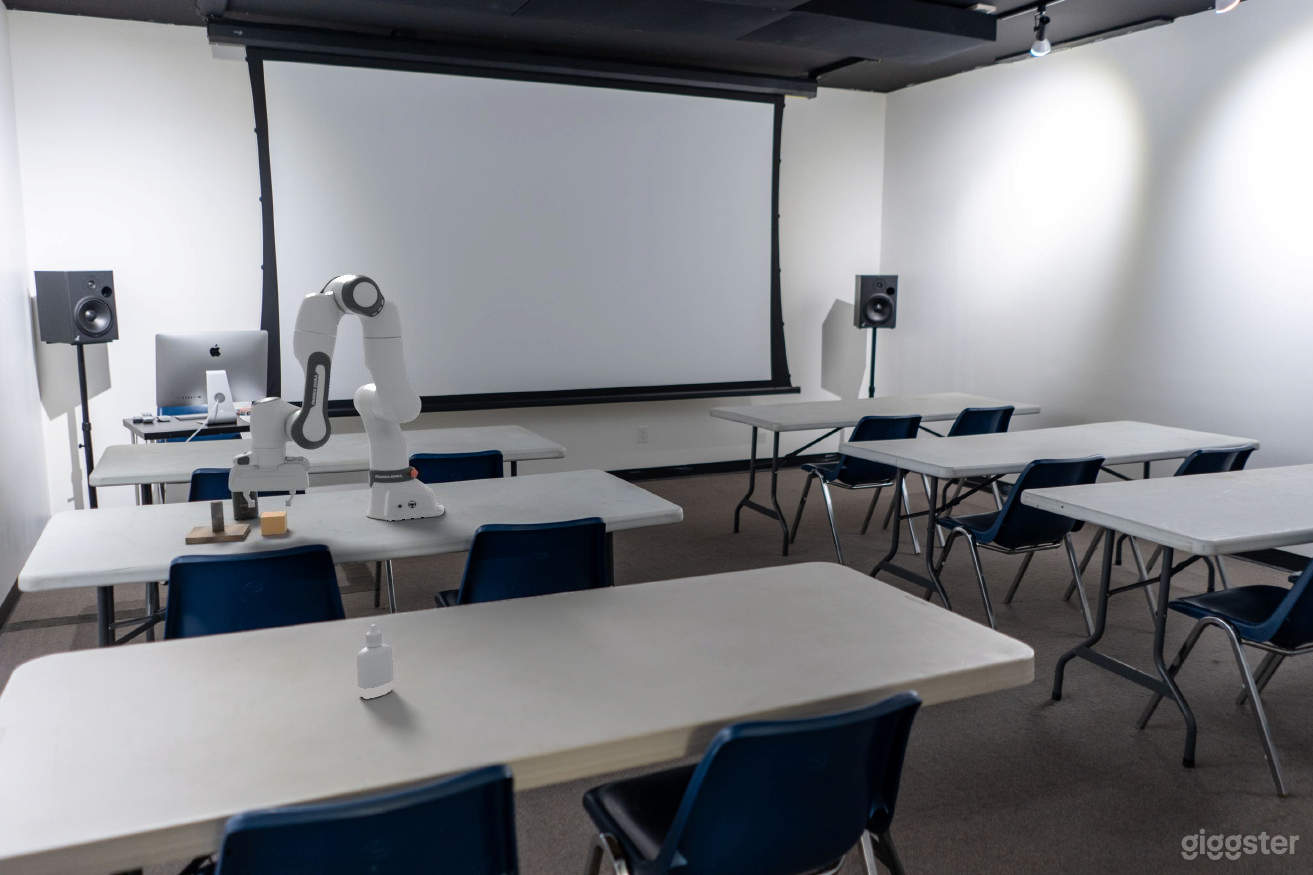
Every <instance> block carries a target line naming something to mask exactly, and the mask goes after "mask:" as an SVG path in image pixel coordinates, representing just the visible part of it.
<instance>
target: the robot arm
mask: <svg viewBox="0 0 1313 875" xmlns="http://www.w3.org/2000/svg"><path fill="white" fill-rule="evenodd" d="M345 315H356V316H357V317H358V319H359V321H360V323H361V328H362V329H361V330H362V345H363V346H362V348H363V360H364V365H365V367H366V369H367V370H368V371H369V373H370V375H371V378H372V381H373V382H371V383H367V384H363V385H362V386H359V388H357V390H356V391H355V393H354V395H353V406H354V408H355V409H356V411H357V412H358V414H359V415H360V418H361V420H362V423H363V427H364V429H365V434H366V436H367V443H368V452H369V469H368V473H367V474H368V486H369V491H370V492H369V501H368V507H367V511H366V516H367V517H369V518H372V519H378V520H384V521H387V520H388V522H393V521H392V520H395V521H401V520H402V519H405V520H411V518H414V519H422V518H421V517H424V518H430V517H431V518H432V517H439V516H441V515H443V514H444V513H445V507H444V505H443V504H440V503H438V502H437V497H436V494H435V492H434V490H433V489H432V488H431V487H430V486H428V485H427V484H425V483H424V482H422V481H421V480H419V479H418V478H417V476H418V474H419V471H418V470H417V469H416V468H415V467H413V466H411V465H410V462H409V443H408V439H407V437H406V435H405V434H404V433H403V431H402V428H401V424H405V423H409V422H412V421H414V420H416V419H417V418H418V416H419V415H420V413H421V411H422V400H421V398H420V396H419V394H418V393H417V392H416V390H415V389H414V387H413V386H412V383H411V380H410V377H409V374H408V371H407V368H406V364H405V356H404V355H405V354H404V353H405V352H404V346H403V345H404V344H403V331H402V330H403V329H402V324H401V317H400V314H399V310H398V306H397V304H396V303H395V302H394V301H392V300H390V299H387V298H385V297H384V295H383V294H382V292H381V288H379V285H378V284H377V283H376V282H375V281H374V280H373V279H372V278H371V277H368V276H366V275H363V274H352V273H351V274H345V275H337V276H335V277H333V278H331V279H329V281H328V282H327V283H326V284H325V285H324V287H323V288H322V289H321V290H320V291H319V292H312V293H308V294H306V295H305V296H304V297H303V299H302V301H301V304H300V306H299V308H298V313H297V316H296V320H295V323H294V324H295V325H294V330H293V337H292V346H293V348H292V349H293V355H294V357H295V358H296V359H297V361H298V363H299V365H300V366H301V370H302V371H303V374H304V383H303V384H304V385H303V387H304V388H303V394H302V395H303V396H302V405H301V407H299V406H296V405H294V404H291V403H289V402H288V401H285V400H284V399H282V397H278V396H271V397H265V398H260V399H258V400H255V401H254V402H253V403H252V405H251V407H250V412H249V413H250V414H249V432H250V435H251V442H250V450H249V451H246V452H245V451H244V452H242V453H239V454H236V455H235V456H234V457H233V458H232V464H233V466H232V468H231V469H230V471H229V475H228V489H229V491H231V493H232V492H243V496H244V497H245V499H246V500H247V501H248V508H251V507H255V504H254V503H255V500H251V498H250V497H249V494H250V491H257V492H273V491H274V492H276V491H278V492H279V491H281V492H282V491H284V492H285V491H288V492H289V494H290V497H289V498H287V499H285V502H284V503H285V507H292V504H293V502H292V501H293V498H294V497H295V496H296V491H305V490H307V489H308V488H309V487H310V480H309V479H310V478H309V471H310V468H311V467H310V460H309V459H307V458H305V457H304V456H287V450H286V448H287V443H288V442H293V443H295V444H296V445H297V446H298V447H300V448H302V449H305V450H308V451H309V450H316V449H320V448H322V447H323V446H324V445H325V444H327V443H328V441H329V440H330V438H331V435H332V434H331V433H332V424H331V422H330V417H329V413H328V407H329V405H328V404H329V395H330V394H329V392H330V384H331V373H332V372H331V370H332V365H333V359H334V358H333V357H334V352H335V348H336V342H337V335H338V328H339V324H340V322H341V319H342V318H343V317H344V316H345ZM402 521H403V520H402Z"/></svg>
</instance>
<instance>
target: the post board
mask: <svg viewBox="0 0 1313 875" xmlns="http://www.w3.org/2000/svg"><path fill="white" fill-rule="evenodd" d="M209 503H210V504H209V505H210V516H211V517H210V518H211V525H206V526H205V525H203V526H193V528H192V529H191V531H190V532H189V533H188V534H187V535H186V536H185V538H184V539H185V540H184V541H185V544H186V543H189V544H201V543H202V542H203V543H204V542H205V543H218V542H234V541H244V540H245V538H246V537H247V535H248V533H249V532H250V530H251V524H250V523H239V524H238V523H236V524H225V517H224V515H225V514H224V506H223V505H224V503H223V500H213V501H210V502H209ZM192 542H193V543H192ZM195 542H197V543H195ZM198 542H200V543H198ZM203 543H202V544H203Z"/></svg>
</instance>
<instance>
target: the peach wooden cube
mask: <svg viewBox="0 0 1313 875" xmlns="http://www.w3.org/2000/svg"><path fill="white" fill-rule="evenodd" d="M259 518H260V531H261V536H271V535H273V536H274V535H285V534H286V533H287V532H288V531H287V530H288V529H289V528H288V514H287V510H282V511H281V510H280V511H263V512H262V514H261V516H260V517H259Z"/></svg>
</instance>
